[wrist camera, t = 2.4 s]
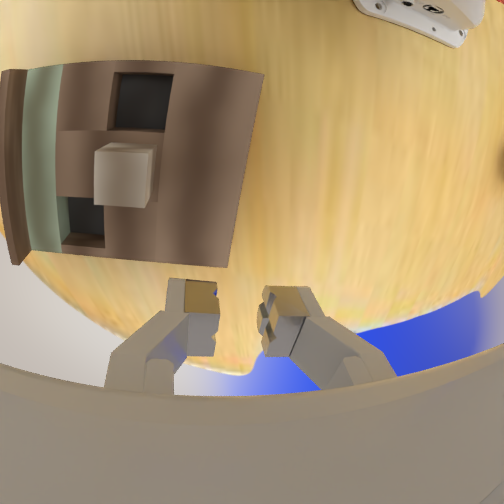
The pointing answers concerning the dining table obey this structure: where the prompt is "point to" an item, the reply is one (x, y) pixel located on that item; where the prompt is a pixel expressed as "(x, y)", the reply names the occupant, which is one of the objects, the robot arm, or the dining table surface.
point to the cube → (124, 174)
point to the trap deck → (125, 131)
